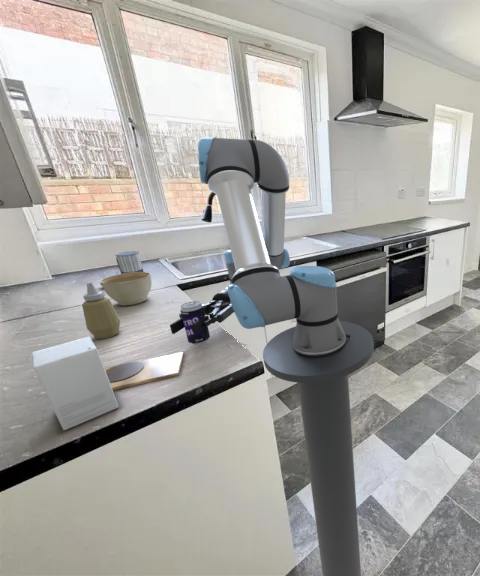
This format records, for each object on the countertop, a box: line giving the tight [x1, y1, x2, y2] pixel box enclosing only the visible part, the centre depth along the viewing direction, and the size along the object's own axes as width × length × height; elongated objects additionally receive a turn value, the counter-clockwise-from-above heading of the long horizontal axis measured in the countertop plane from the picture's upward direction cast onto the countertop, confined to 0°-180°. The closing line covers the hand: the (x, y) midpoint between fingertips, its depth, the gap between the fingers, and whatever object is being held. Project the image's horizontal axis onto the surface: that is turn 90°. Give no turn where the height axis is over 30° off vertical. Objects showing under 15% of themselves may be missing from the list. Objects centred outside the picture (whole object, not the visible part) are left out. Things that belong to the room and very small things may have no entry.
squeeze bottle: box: [81, 281, 121, 340], centre depth 97 cm, size 8×8×18 cm
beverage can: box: [180, 300, 211, 346], centre depth 91 cm, size 6×6×12 cm
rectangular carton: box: [32, 335, 119, 431], centre depth 65 cm, size 9×9×15 cm
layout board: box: [104, 351, 185, 391], centre depth 79 cm, size 20×12×1 cm, turn 116°
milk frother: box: [99, 250, 144, 287], centre depth 149 cm, size 14×16×15 cm
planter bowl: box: [99, 271, 152, 306], centre depth 127 cm, size 16×16×11 cm
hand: (183, 329), depth 86 cm, fingers closed on beverage can, 6 cm apart
